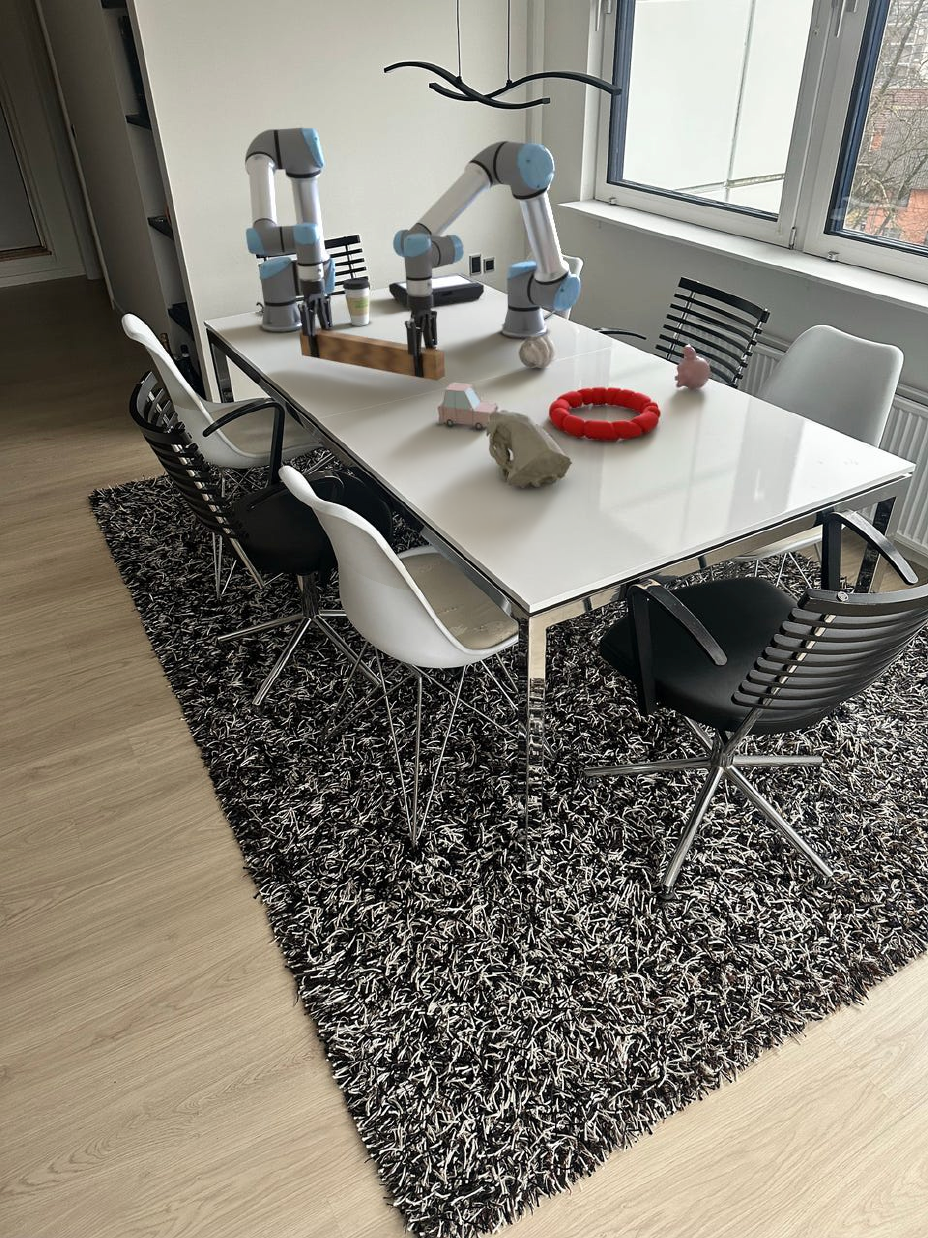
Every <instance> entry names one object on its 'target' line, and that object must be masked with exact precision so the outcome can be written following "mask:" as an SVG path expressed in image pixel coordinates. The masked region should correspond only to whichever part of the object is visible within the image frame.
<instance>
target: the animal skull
mask: <svg viewBox="0 0 928 1238" xmlns="http://www.w3.org/2000/svg"><path fill="white" fill-rule="evenodd" d="M485 436H486V438H487V437H489V438H488V440H489V444H488V445H489V446H488V450H489V454H490V456H491V457H492V458H493V459H494V460H495V462H496V464H497V466H499V468H500V470H501V471H502V472H501V478H502V479H507V480H506V484H507V486H517V487H518V486H519V488H523V489H524V488H526V486H527V485H529V483H531V485H533V486H534V487H536V488H540V485H541V484H542V482H544V483H549V484H550V485H553V484H555V483H556V482H557V480H561V479H563V478H565V476H566V474H567V472H568V471H569V469H570V467H571V466H572V464H573V462H572V461H571V458H570V457H568V456H567V455H565V453H564V451H562V449H561V448H560V446H559V444H557V443H556V439H555V438H554V436H553V435H551V434H550V433H548V432H547V431H546V430H545V429H544V428H542V427H541V426H539V425H538V424H537V423H536V424H535V422H534V421H533V419H532V418H531V417H530V416H529V415H527V414H524V413H519V412H515V411H509V410H507V409H502V410H500V411H499V410H497V411H496V412H492V413H491V414H490V422H488V423H487V427H486V435H485ZM511 453H512V454H511ZM511 455H512V457H513V458H512V460H511ZM507 474H508V475H507Z"/></svg>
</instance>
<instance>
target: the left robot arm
mask: <svg viewBox="0 0 928 1238" xmlns="http://www.w3.org/2000/svg"><path fill="white" fill-rule="evenodd" d="M244 166H245V171H246V173H247V175H248V176H249V178H248V179H249V192H250V206H251V222H252V227H249V228H247V229H246V231H245V239H246V245H247V249H248V252H249V254H251V255H271V254H272V255H273V254H284V253H285V254H286V253H288V254H289V253H295V255H296V260H295V261H292V258H291V257H290V256H277V257H273V258H270V259H267V260H265V261H263V262H261V263H260V265H259V266H258V270H259V280H260V285H261V286H260V287H261V292H262V299H263V303H262V302H260V301H257V302H256V305H255V306H257V307H259V306H260V308H261V310H260V312H261V314H262V319H261V326H262V330H264V331H265V332H271V333H286V332H293V331H296V330H297V331H298V330H302V334H303V336H307V337H308V342H309V347H310V350H311V357H310V358H314V357H317V358H316V359H319V358H318V357H319V350H318V342H317V336H315V329H316V317H317V320H318V323H319V326H320V329H321V330H327V331H332V328H333V325H334V324H333V315H332V305H331V302H332V301H331V300H332V295H330V294H332V293H333V292H334V291H335V286H336V285H335V284H336V263H335V259H334V258H332V257H331V254H330V253H329V252H328V251H327V250H326V247H325V238H324V230H323V221H322V211H321V203H320V195H319V194H320V193H319V184H318V178H319V177H320V176H321V174H322V169H324V168H325V160H324V156H323V151H322V146H321V142H320V138H319V134H318V131H317V130H316V129H315V128H313V127H291V128H277V129H276V128H275V129H273V128H271V129H266V130H263V131H262V132H260V133H258V134H257V135H256V136H255V138H254V139H253V140H252V141H251V143H250V144H249V146H248V148H247V150H246V152H245V159H244ZM277 170H278V171H281V170H282V171H285V177H287V178H288V179H289V180H290V183H291V191H292V197H293V198H292V199H293V204H294V205H293V206H294V213H295V221H296V224H294V225H281V226H279V225H278V216H277V215H278V214H277V204H276V203H277V201H276V191H275V178H274V176H275V174H276V172H277ZM297 297H303V299H302V302H301V303H297Z"/></svg>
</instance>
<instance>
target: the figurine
mask: <svg viewBox="0 0 928 1238" xmlns="http://www.w3.org/2000/svg"><path fill="white" fill-rule="evenodd" d="M682 354H683V358H684V359H683V361H682V362H679V363H678V364H677V365H676V372H677V375H675V376H674V381H675V382H676V381H677V382H676V384H675V386H676V388H681V387H686V388H688V389H693V390H694V389H695V390H696V389H700V388H703V387H704V386H705V385H706V384H707V383H708V382H709V379H710V377H711V367H710V364H709V362H708V361H706V359H704V358H702V357H700V356H697V353H696V350H695V349H694V347H692V345H690V344H686V345H685V346H684V347H683V348H682Z"/></svg>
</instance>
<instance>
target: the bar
mask: <svg viewBox="0 0 928 1238" xmlns="http://www.w3.org/2000/svg"><path fill="white" fill-rule="evenodd" d="M298 335H299V337H298V338H299V344H300V351H301V356H305V357H310V358H312V357H311V350H310V347H309V342H308V337H307V336H303V334H302V329H299V330H298ZM315 336H317V342H318V350H319V357H318V358H317V357H313V358H314V359H319V360H326V361H330V362H336V363H340V364H345V365H350V366H351V365H352V366H355V367H361V368H366V369H372V370H377V371H381V372H388V373H393V374H399V375H402V376H408V377H413V378H419V379H424V380H428V381H435V382H437V381H440V380H441V379H443V378H445V377H446V364H445V363H446V362H445V350H442V349H437V348H436V349H431V348H425V346H421V354H420V355H422V356H423V374H424V377H417V376H415V372H414V363H413V362H414V361H413V355H409V354H408V346H407V343H402V342H396V341H389V340H384V339H379V338H372V337H368V336H361V335H356V334H349V333H344V332H340V331H339V332H338V331H332V330H331V331H327V330H321V328H315Z"/></svg>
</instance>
